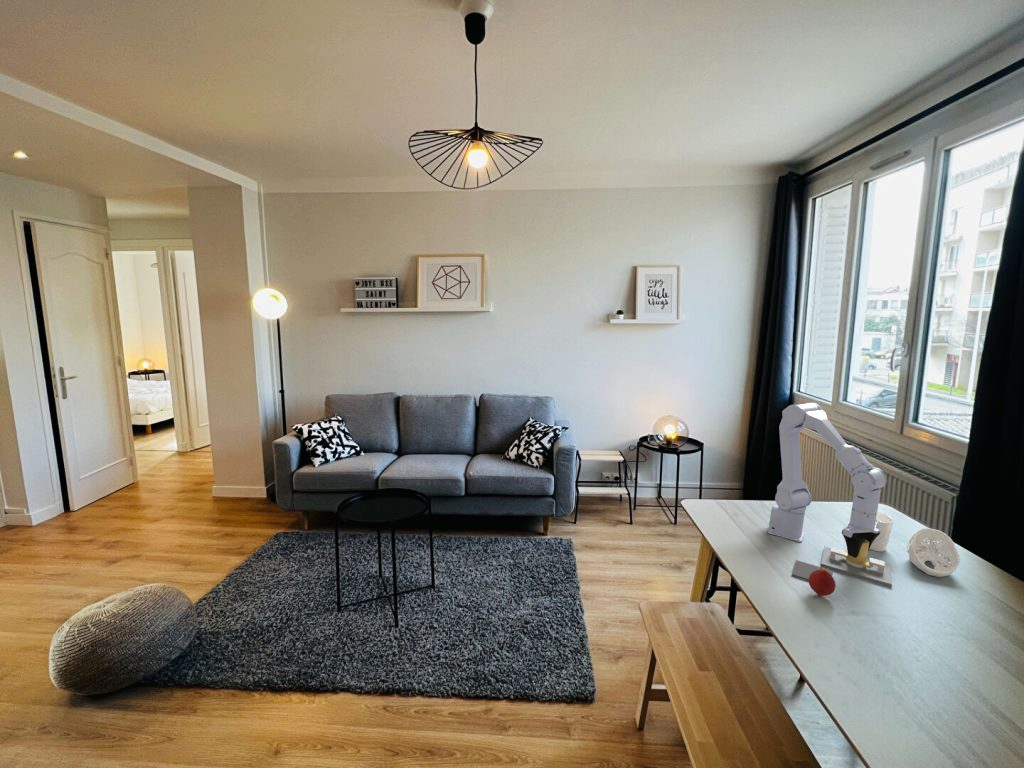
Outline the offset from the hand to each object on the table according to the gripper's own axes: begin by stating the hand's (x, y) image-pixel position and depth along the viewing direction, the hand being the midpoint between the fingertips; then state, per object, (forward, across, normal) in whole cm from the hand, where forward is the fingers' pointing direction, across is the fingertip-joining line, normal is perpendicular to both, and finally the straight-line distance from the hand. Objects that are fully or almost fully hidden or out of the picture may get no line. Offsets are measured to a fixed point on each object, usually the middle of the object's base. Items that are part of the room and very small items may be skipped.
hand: (857, 553), depth 133 cm
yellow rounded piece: (+2, 0, 0) cm, 2 cm away
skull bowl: (+5, +20, -9) cm, 22 cm away
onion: (+4, -23, -4) cm, 23 cm away
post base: (+4, 0, 0) cm, 4 cm away
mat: (+4, -15, +3) cm, 16 cm away
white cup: (+4, +18, +4) cm, 19 cm away
